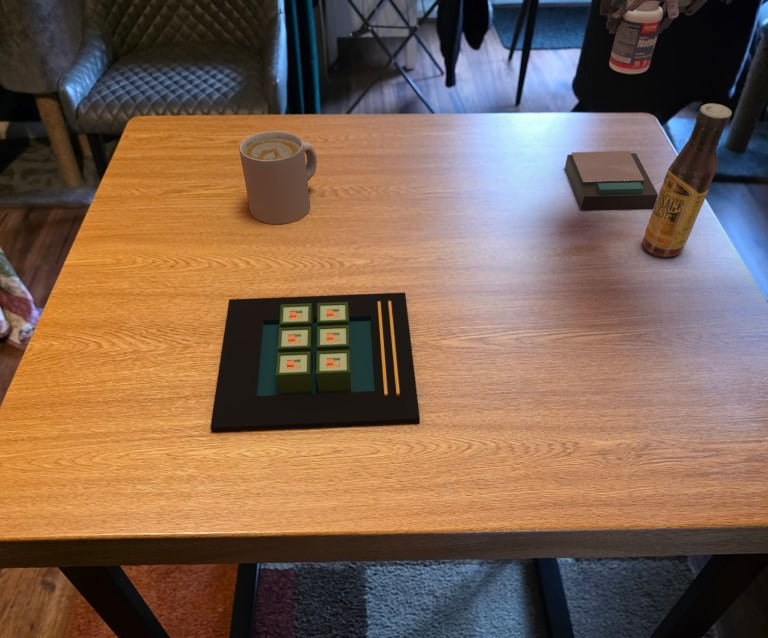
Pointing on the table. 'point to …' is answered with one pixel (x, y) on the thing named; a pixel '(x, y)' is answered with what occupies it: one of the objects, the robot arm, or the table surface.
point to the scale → (609, 181)
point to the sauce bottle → (686, 184)
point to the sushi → (315, 364)
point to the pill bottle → (636, 39)
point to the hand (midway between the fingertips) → (635, 25)
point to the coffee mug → (277, 175)
